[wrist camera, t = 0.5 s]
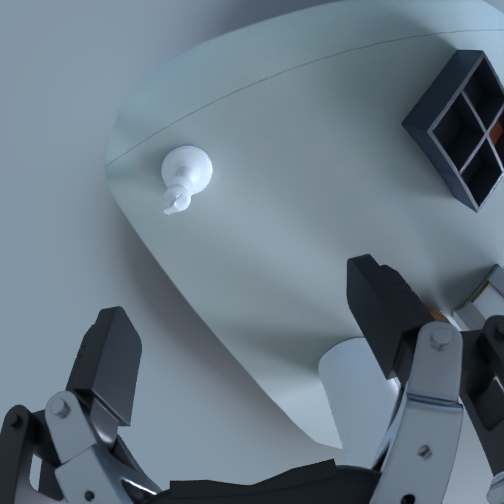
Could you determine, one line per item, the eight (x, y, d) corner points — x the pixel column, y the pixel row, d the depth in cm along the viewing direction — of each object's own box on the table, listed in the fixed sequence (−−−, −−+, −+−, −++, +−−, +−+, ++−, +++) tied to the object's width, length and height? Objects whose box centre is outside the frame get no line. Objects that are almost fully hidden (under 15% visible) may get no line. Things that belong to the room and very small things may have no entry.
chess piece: (222, 172, 28) (226, 213, 19) (184, 203, 29) (172, 255, 20) (189, 134, 25) (175, 157, 17) (151, 168, 26) (122, 206, 18)
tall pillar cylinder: (364, 372, 49) (411, 486, 28) (312, 380, 48) (349, 509, 26) (384, 333, 43) (449, 462, 22) (325, 341, 42) (380, 493, 21)
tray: (400, 123, 26) (426, 131, 23) (457, 49, 21) (483, 50, 17) (455, 199, 32) (477, 213, 28) (502, 129, 27) (525, 138, 23)
